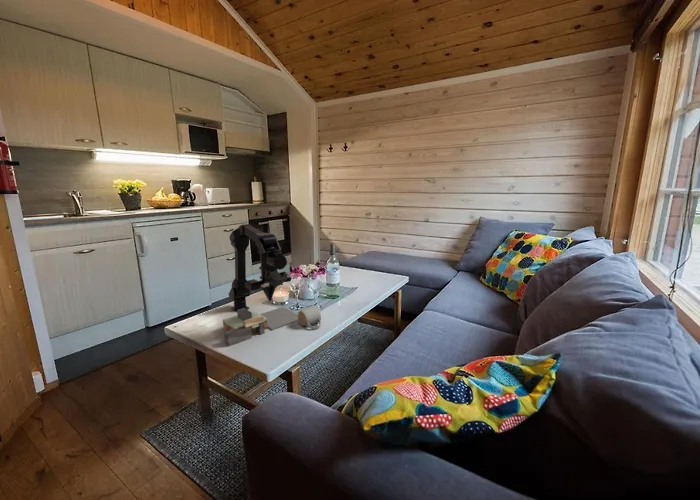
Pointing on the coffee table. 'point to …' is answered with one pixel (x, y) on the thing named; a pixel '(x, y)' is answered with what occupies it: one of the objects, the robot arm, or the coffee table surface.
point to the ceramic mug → (310, 317)
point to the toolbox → (242, 333)
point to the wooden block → (253, 321)
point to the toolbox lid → (242, 318)
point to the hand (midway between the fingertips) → (269, 300)
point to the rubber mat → (280, 318)
